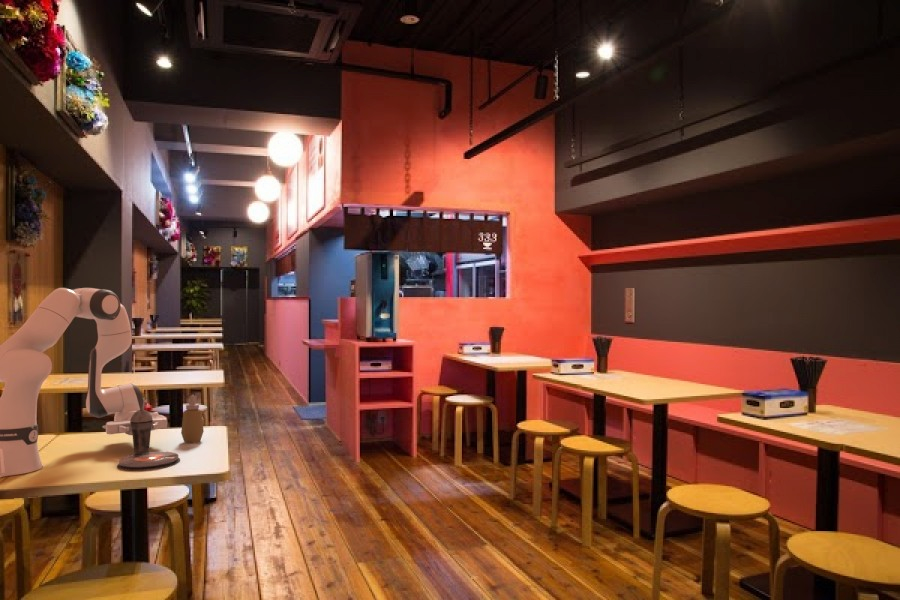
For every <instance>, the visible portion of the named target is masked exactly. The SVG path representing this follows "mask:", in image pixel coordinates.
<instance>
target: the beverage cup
mask: <svg viewBox="0 0 900 600" xmlns="http://www.w3.org/2000/svg"><path fill="white" fill-rule="evenodd" d="M145 403H146V397H145V396H144V397H143V408H142V410H138V411H136V412H135V413H134V414H133V415H132V417H131V421H130V423H131V428H132V435H131V436H132V445H133V453H134V454H139V453H147V452H150V445H151V444H150V443H151V434H152V433H151V432H152V430H151V426H152V421H153V420H152V416H151V414H150V413H149V412H150V411H148V410H146V409H145V406H146V405H145Z"/></svg>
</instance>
